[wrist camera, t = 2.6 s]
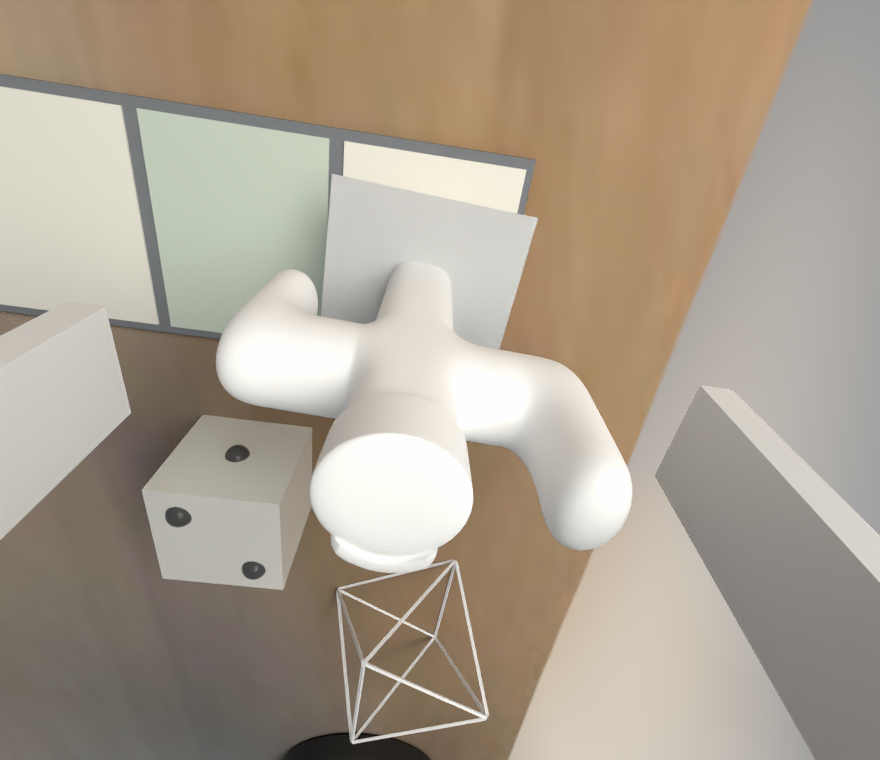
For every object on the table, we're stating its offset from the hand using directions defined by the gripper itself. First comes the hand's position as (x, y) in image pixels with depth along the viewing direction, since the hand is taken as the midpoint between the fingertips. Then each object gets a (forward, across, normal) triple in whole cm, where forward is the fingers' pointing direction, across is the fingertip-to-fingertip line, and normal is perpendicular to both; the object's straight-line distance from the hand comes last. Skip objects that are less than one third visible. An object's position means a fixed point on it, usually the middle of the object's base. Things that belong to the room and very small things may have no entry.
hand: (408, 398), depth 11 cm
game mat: (+12, +8, 0) cm, 14 cm away
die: (+12, +8, +14) cm, 20 cm away
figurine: (+12, 0, 0) cm, 12 cm away
